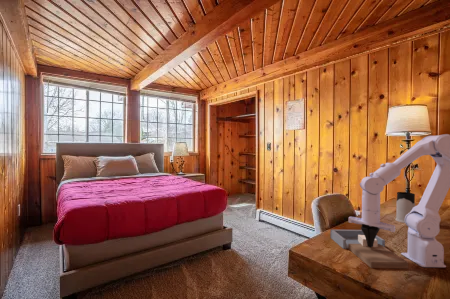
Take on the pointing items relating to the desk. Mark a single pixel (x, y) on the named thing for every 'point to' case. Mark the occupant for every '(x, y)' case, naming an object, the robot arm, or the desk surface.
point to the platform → (378, 256)
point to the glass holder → (404, 205)
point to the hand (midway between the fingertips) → (370, 246)
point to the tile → (364, 243)
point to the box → (350, 237)
